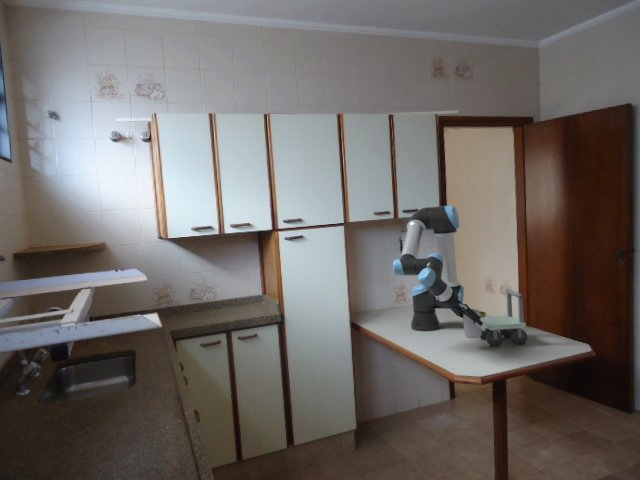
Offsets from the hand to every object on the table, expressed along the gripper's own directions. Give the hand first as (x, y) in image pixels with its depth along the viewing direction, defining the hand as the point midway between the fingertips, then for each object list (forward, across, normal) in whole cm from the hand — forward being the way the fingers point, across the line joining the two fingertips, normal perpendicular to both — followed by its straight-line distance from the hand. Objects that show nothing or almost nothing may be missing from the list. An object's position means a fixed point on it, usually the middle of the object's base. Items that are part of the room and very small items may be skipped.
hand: (479, 326), depth 206 cm
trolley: (+16, -2, +3) cm, 16 cm away
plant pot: (+19, -24, +6) cm, 31 cm away
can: (+1, 0, -6) cm, 6 cm away
